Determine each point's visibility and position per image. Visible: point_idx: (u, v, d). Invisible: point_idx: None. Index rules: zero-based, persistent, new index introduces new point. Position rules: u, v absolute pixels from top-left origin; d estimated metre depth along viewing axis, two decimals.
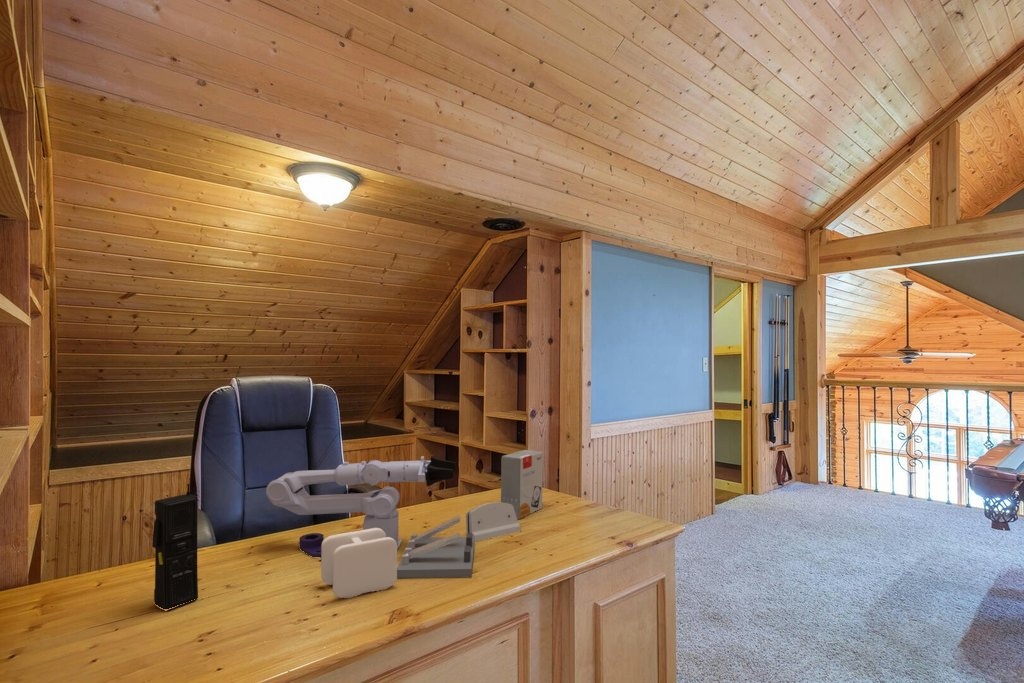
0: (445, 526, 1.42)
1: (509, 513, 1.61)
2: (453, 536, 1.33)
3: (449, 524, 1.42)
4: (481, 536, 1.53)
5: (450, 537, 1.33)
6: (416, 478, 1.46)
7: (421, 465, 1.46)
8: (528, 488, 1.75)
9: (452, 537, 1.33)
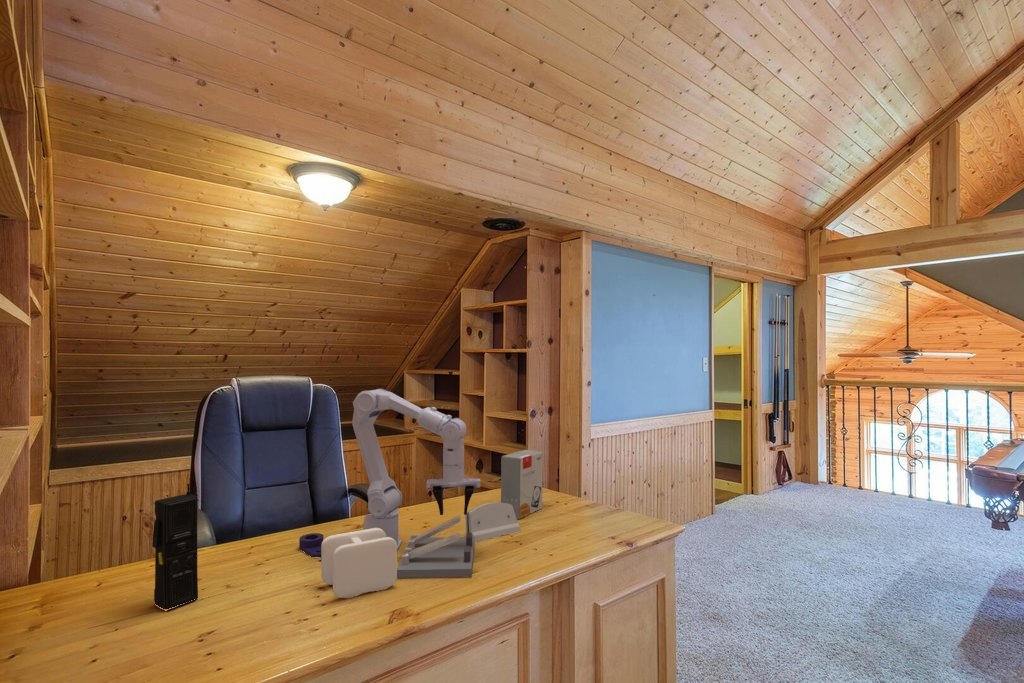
0: (445, 526, 1.42)
1: (509, 513, 1.61)
2: (453, 536, 1.33)
3: (449, 524, 1.42)
4: (481, 536, 1.53)
5: (450, 537, 1.33)
6: None
7: (442, 483, 1.41)
8: (528, 488, 1.75)
9: (452, 537, 1.33)
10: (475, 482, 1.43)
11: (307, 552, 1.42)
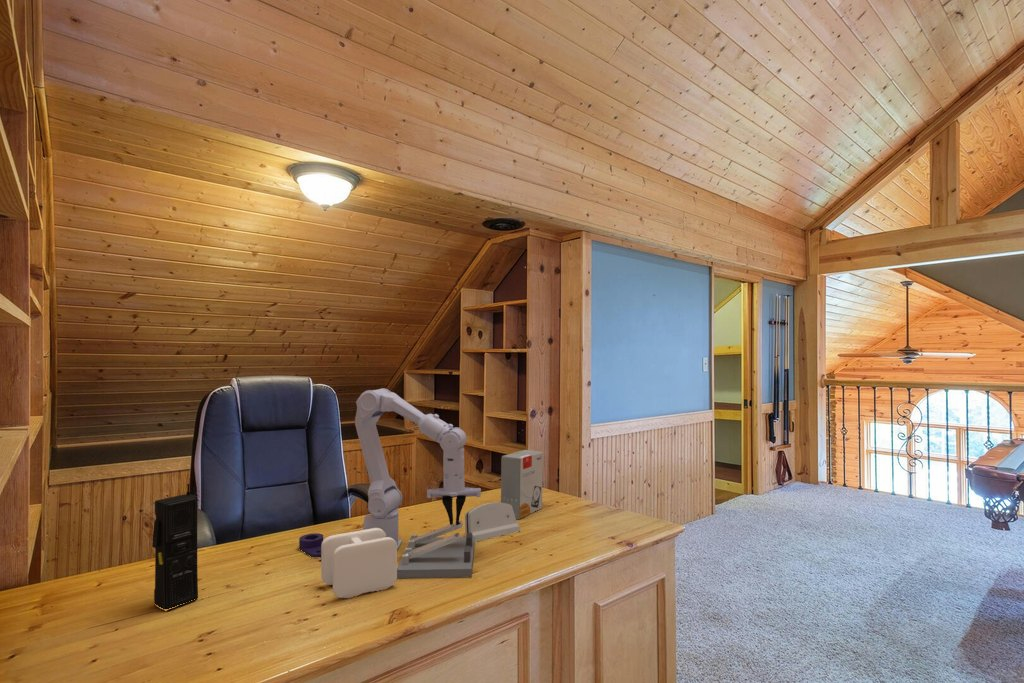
0: (447, 530, 1.42)
1: (508, 513, 1.61)
2: (453, 536, 1.33)
3: (451, 528, 1.42)
4: (481, 536, 1.52)
5: (450, 537, 1.33)
6: None
7: (443, 493, 1.41)
8: (528, 488, 1.75)
9: (452, 537, 1.33)
10: (475, 491, 1.43)
11: (307, 552, 1.42)
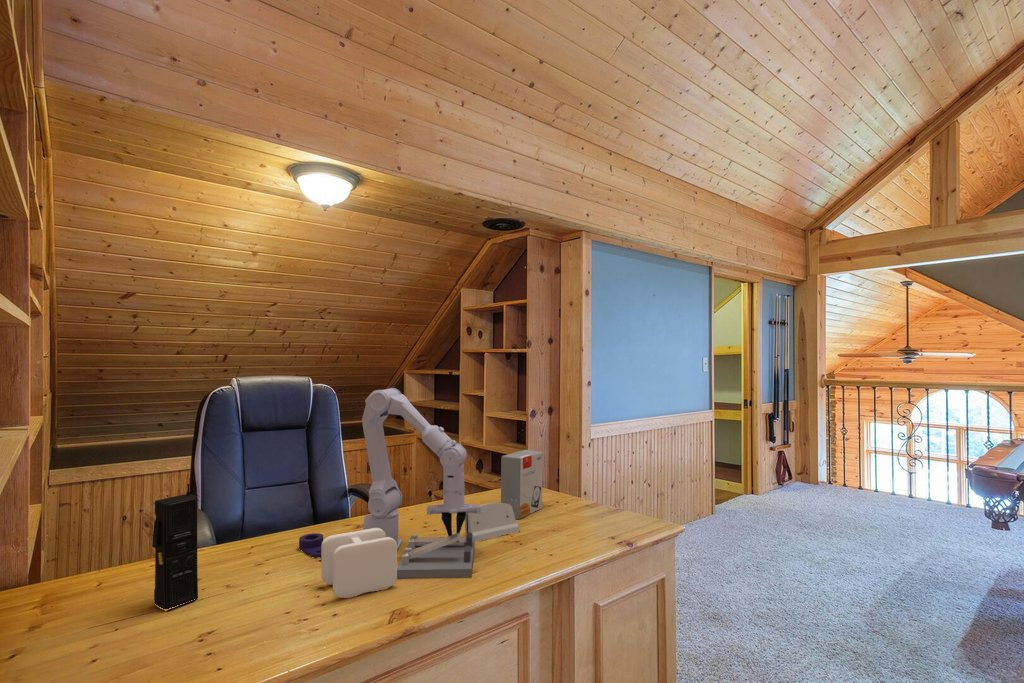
0: None
1: (508, 513, 1.61)
2: (453, 536, 1.33)
3: (453, 543, 1.42)
4: (480, 536, 1.52)
5: (450, 537, 1.33)
6: None
7: (443, 510, 1.41)
8: (528, 488, 1.75)
9: (452, 537, 1.33)
10: (475, 508, 1.43)
11: (307, 552, 1.42)
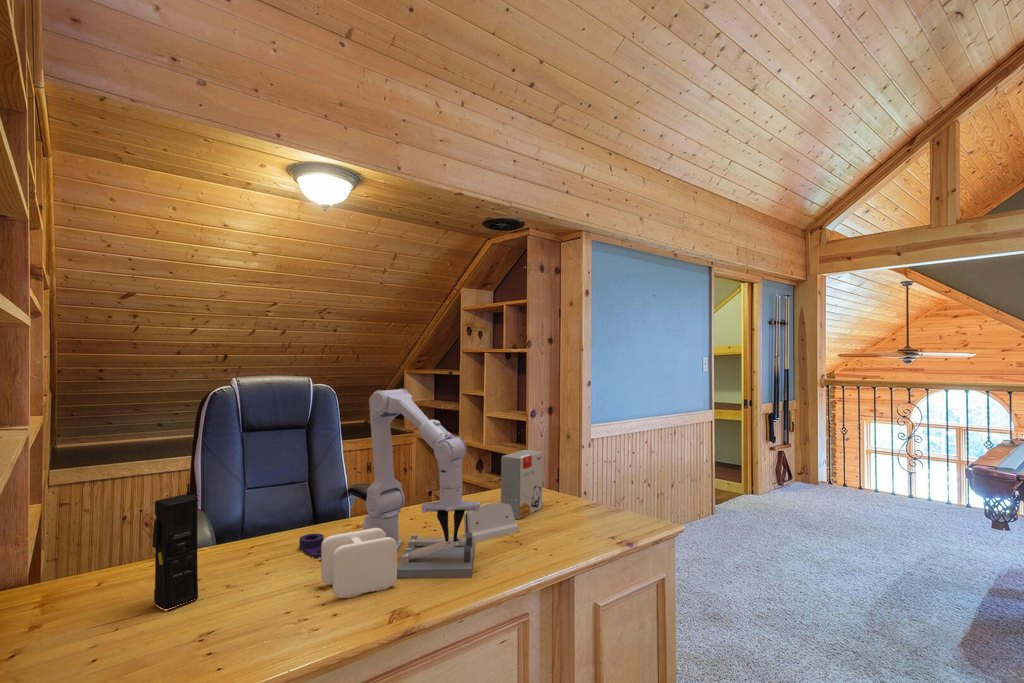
0: None
1: (507, 513, 1.61)
2: None
3: None
4: (480, 536, 1.52)
5: (451, 540, 1.33)
6: None
7: (439, 507, 1.31)
8: (528, 488, 1.75)
9: (453, 541, 1.33)
10: (474, 506, 1.33)
11: (307, 552, 1.42)
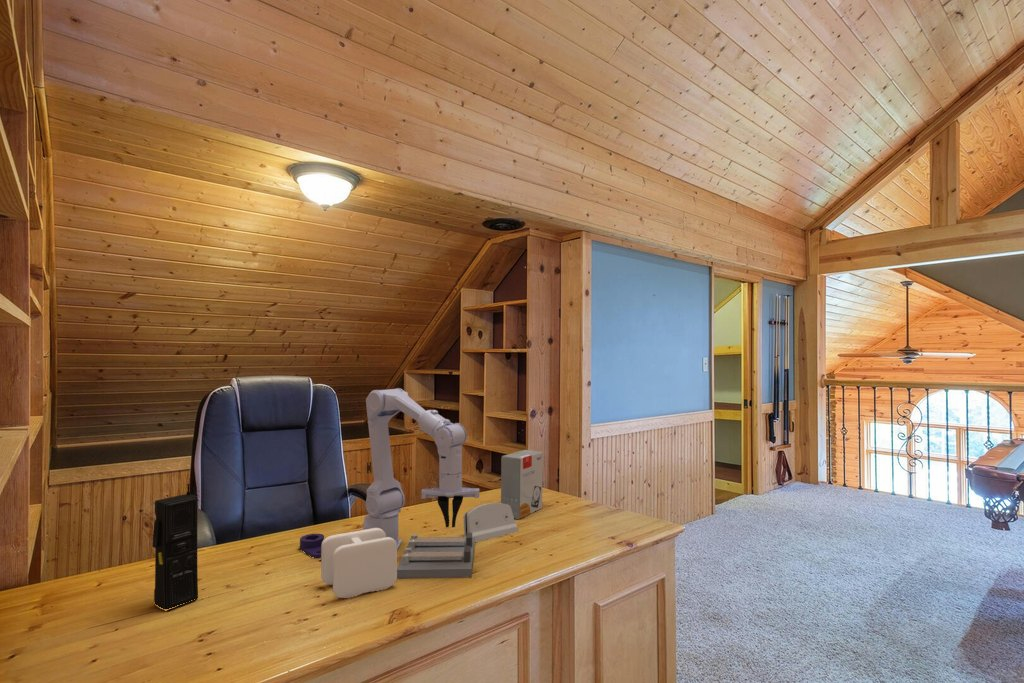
0: (449, 543, 1.42)
1: (506, 513, 1.60)
2: (457, 554, 1.33)
3: (453, 543, 1.42)
4: (480, 537, 1.52)
5: (454, 554, 1.33)
6: None
7: (439, 493, 1.31)
8: (528, 488, 1.75)
9: (456, 554, 1.33)
10: (474, 492, 1.33)
11: (307, 552, 1.42)
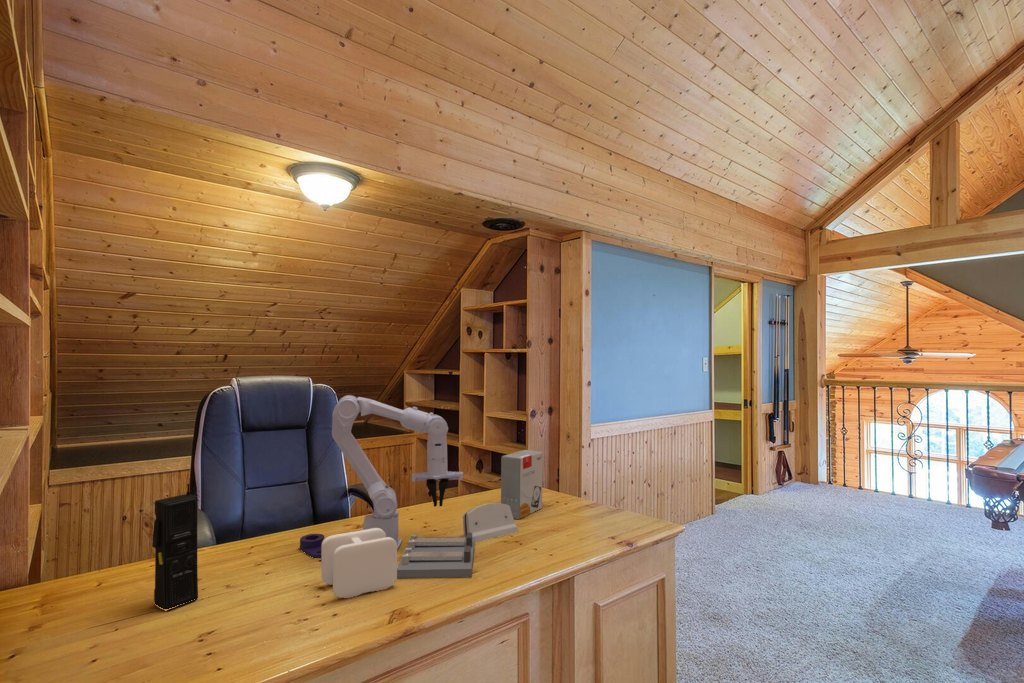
0: (449, 543, 1.42)
1: (506, 514, 1.60)
2: (457, 554, 1.33)
3: (453, 543, 1.42)
4: (479, 537, 1.52)
5: (454, 554, 1.33)
6: None
7: (427, 476, 1.49)
8: (528, 488, 1.75)
9: (456, 554, 1.33)
10: (458, 475, 1.51)
11: (308, 553, 1.41)
